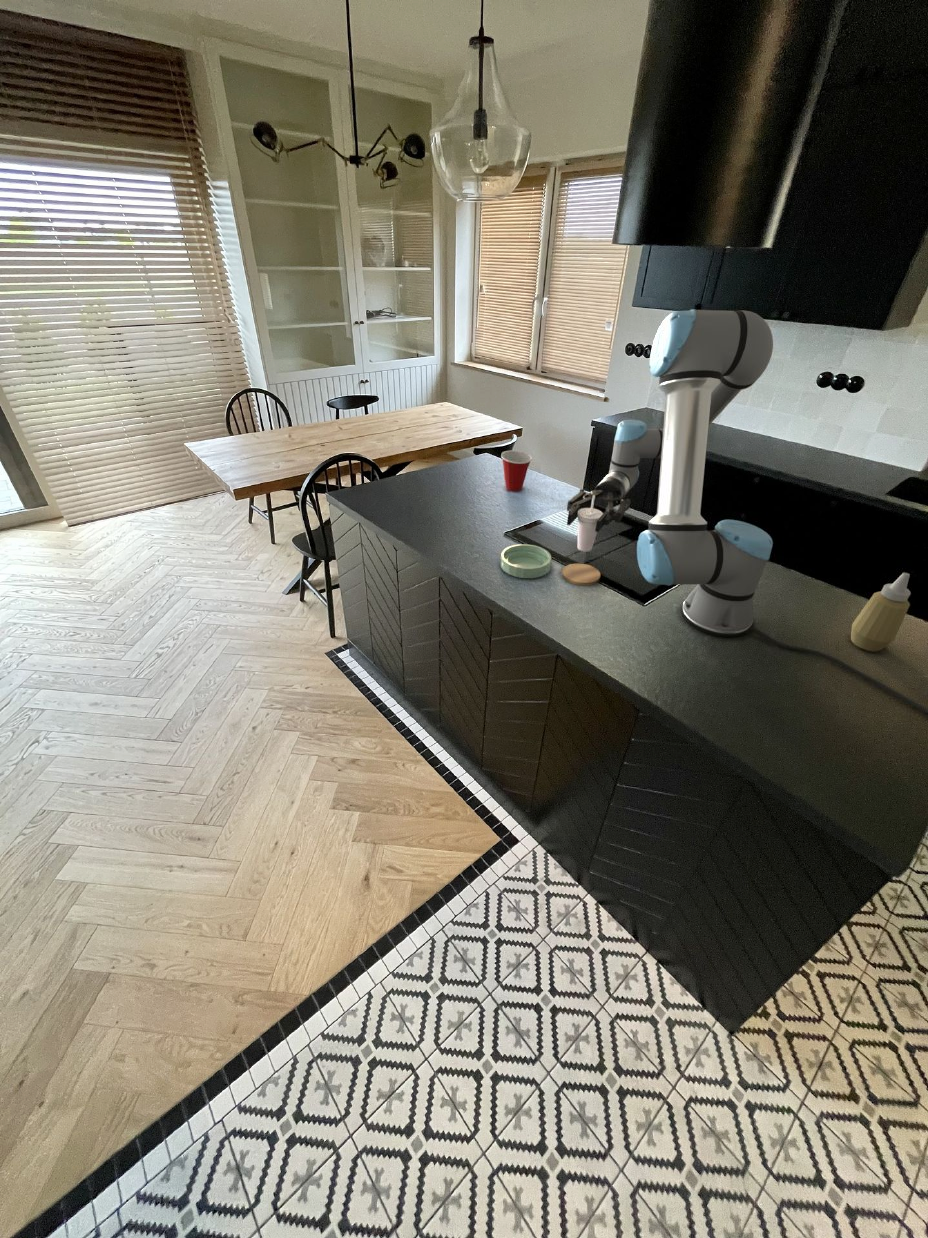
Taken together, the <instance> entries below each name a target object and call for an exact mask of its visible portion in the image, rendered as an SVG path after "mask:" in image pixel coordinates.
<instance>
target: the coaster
mask: <svg viewBox="0 0 928 1238" xmlns="http://www.w3.org/2000/svg"><path fill="white" fill-rule="evenodd" d="M561 577H562V578H563V579H564V580H565V581H566V582H568V583H570V584H573V585H578V586H591V585H595V584H597V583H598V582H599V581H600V579H601V572H600V570H599V569H598V568H596V567H595V566H592V565H589V564H586V563H569V564H567V565H565V566H564V567H563V568H562V570H561Z"/></svg>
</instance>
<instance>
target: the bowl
mask: <svg viewBox="0 0 928 1238" xmlns="http://www.w3.org/2000/svg"><path fill="white" fill-rule="evenodd" d="M552 559H553V558H552V555H551V553H550V552H549V551H548V550H547V549H545V548H543V547H542V546H538V545H535V544H526V543H525V544H524V543H523V544H522V543H521V544H520V543H519V544H513V545H510V546H507V547H506V548H504V549H503V550H502V552H501V553H500V568H501V569H502V570H503V572H505V573H506V574H508V575H510V576H511V577H512V576H513V577H515V578H521V579H535V578H536V579H537V578H541V577H543V576H545V575H547V574H548V573H549V572H550V570H551V567H552Z"/></svg>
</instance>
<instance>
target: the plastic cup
mask: <svg viewBox="0 0 928 1238" xmlns="http://www.w3.org/2000/svg"><path fill="white" fill-rule="evenodd" d="M500 458H501V460H502V465H503V475H504V483H505V484H504V485H505V489H506V490H507V491H510V492H519V491H522V489H523V487H524V484H525V480H526V476H527V473H528V468H529V466H530V464H531V462H532V461H533V456H532V455H531V454H530V453H527V452H525V451H521V450H515V449H514V450H505V451H502V452H501V455H500Z"/></svg>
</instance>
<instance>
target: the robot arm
mask: <svg viewBox="0 0 928 1238" xmlns="http://www.w3.org/2000/svg"><path fill="white" fill-rule="evenodd" d="M773 350H774V337H773V333H772V330H771V328H770V326H769V323H768V322H767V321H766V320H765V319H764V318H763V317H762V316H760V315H759V314H758V313H755V312H753V311H749V310H744V309H743V310H711V309H710V310H709V309H695V308H694V309H693V308H691V309H690V310H676V311H673V312H671V313H669V314H668V315H667V316H666V317H665V318H664V319H663V321H662V322H661V324H660V326H658V329H657V332H656V334H655V337H654V338H653V343H652V346H651V350H650V355H649V362H648V363H649V364H648V365H649V366H648V367H649V373H650V374H651V376H653V377H655V378H658V390H660V391H661V392H662V393H663V394H664V396H665V401H664V413H663V414H664V417H663V426H662V428H648V426H647V423H645V422H644V421H642V420H640V419H639V420H638V419H624V420H621V421H620V422H619V423H618V424H617V427H616V432H615V436H614V441H613V448H612V455H611V461H610V465H609V469H608V470H609V471H608V474H606V475H605V477H603V479H602V480H601V481H600V482H599V483H598V484H597V485H596V486H595V487H594V490H591V491H590V492H587V491H585V489H584V488H580V489H579V492H577V493H576V494H575V495H574V496H573V497H571V498H570V499H569V500H567V505H566V511H567V512H568V513H567V520H566V525H567V526H571V525H572V524H573V522H574V521H575V520H577V519H578V517H577V512H578V510H580V509H583V508H591V504H592V498H593V495H595V500H594V506H593V509H595V508H597V507H601V508H603V509H605V511H604V512H602V513H603V514H602V516H601V517H600V518H599V519H598V520H597V524H596V529H595V532H597V533H599V532H600V530H601V529H602V528H603V527H604V526H609V524H610V523H611V522H613V521H614V523H621V520H622V518H623V516H624V515H625V513H626V511H628V510H629V509H630V505H631V501H632V500H631V499H630V498H625V497H626V495H627V494H628V493H629V492H630V491H631V489H632V488H634V487H635V486H636V484H637V482H638V480H639V477H640V469H639V465H640V461H641V459H660V470H659V480H658V481H659V482H658V494H657V508H656V514H655V515H654V516H653V518H651V519H650V520H649V521H648V528H647V529H646V530H644V531H642V532H640V534H639V536H638V540H637V543H636V558H637V564H638V567H639V570H640V573H641V575H642V577H643V578H644V579H645V581H646V582H648V583H649V584H652V585H665V586H667V587H668V586H669V587H670V586H673V585H679V586H680V585H695V587H694V588H693V589H692V591H691V592H690V593H689V595H688V596H687V597H686V598H685V600H684V601H683V604H682V606H681V616H682V617H683V619H684V620H685V622H687V624H689V625H690V627H692V628H694V629H696V630H698V631H700V632H702V633H705V634H707V635H711V636H715V637H719V638H737V637H741V636H744V635H746V634H747V633H748V632H749V631H751V632H753V633H755V634H756V635H759V636H761V637H762V638H764V639H765V640H767V641H769V642H770V643H772V644H774V645H776V646H779V647H782V648H785V649H788V650H793V651H797V652H802V653H803V652H804V653H809V654H813V655H816V656H819V657H822V658H825V659H827V660H829V661H831V662H833V663H835V664H837V665H838V666H839V665H840V667H843V668H844V669H847V670H848V671H850V672H852V673H853V674H855V675H857V676H859V677H861V678H863V679H864V680H866V681H868V682H870V683H872V684H874V685H875V686H877V687H879V688H880V689H882V690H884V691H886V692H888V693H890V694H891V695H893V696H894V697H896V698H898V699H900V700H902V701H904V702H905V703H907V704H909V705H910V706H912V707H914V708H916V709H917V710H919V711H921V712H923V713H924V714H926V715H928V708H927V707H925V706H923V705H921V704H920V703H918V702H916V701H914V700H913V699H910V698H909V697H907V696H905V695H903V694H902V693H900V692H898V691H897V690H895V689H893V688H891V687H890V686H887V685H886V684H884V683H882V682H881V681H879V680H876V679H875V678H873V677H871V676H869V675H867V674H866V673H864V672H862V671H860V670H858V669H856V668H854V667H853V666H851V665H849V664H848V663H845V662H844V661H842V660H840V659H838V658H836V657H834V656H832V655H829V654H827V653H825V652H822V651H819V650H815V649H812V648H807V647H801V646H796V645H792V644H791V645H790V644H788V643H784V642H781V641H778V640H776V639H775V638H773V637H771V636H770V635H768V634H766V633H764V632H763V631H761V630H759V629H757V628H755V627H753V626H752V624H753V622H754V595H755V592H756V591H757V588H758V585H759V583H760V580H761V578H762V576H763V573H764V570H765V567H766V565H767V562H768V561H769V560H770V558H771V553H772V549H773V544H774V542H773V539H772V536H771V535H770V534H768V532H766V531H764V530H763V529H762V528H760V527H758V526H756V525H754V524H751V523H749V522H746V521H741V520H737V519H736V520H735V519H723V520H720V521H718V522H717V524H716V525H715V526H714V529H713V530H708V529H707V528H708V521H706V520H705V519H704V517H703V516H702V514H701V508H702V499H703V487H704V476H705V468H706V467H705V464H706V455H707V454H706V453H707V446H708V445H707V444H708V434H709V433H708V432H709V426H710V425H711V424H712V423H713V422H714V421H715V420H716V418H718V417H719V416H720V414H721V413H722V412H723V411H724V410H725V408H727V407H728V405H729V404H730V403H732V401H733V400H734V399H735V398H736V397H737V395H738V394H739V393H740V392H741V391H743V390H746V389H749V388H750V387H752V386H753V385H754V384H755V383H756V382H757V381H758V380H759V378H760V377H762V375H763V374H764V372H765V371H766V369H767V368H768V365H769V364H770V361H771V358H772V356H773ZM624 498H625V499H624ZM617 506H619V507H618V509H617V511H616V512H615V508H616V507H617Z"/></svg>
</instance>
